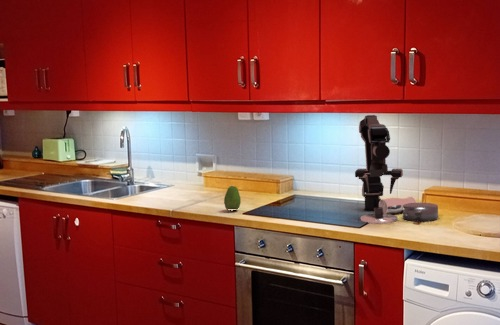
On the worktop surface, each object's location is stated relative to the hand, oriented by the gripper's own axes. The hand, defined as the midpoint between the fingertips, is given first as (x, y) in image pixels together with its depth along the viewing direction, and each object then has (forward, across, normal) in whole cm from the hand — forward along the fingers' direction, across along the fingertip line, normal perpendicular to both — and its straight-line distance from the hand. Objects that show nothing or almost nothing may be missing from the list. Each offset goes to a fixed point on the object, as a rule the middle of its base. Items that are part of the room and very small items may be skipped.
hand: (379, 193), depth 245 cm
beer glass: (+8, +11, +19) cm, 23 cm away
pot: (+11, +16, +3) cm, 19 cm away
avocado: (+11, -69, +7) cm, 70 cm away
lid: (+11, 0, 0) cm, 11 cm away
